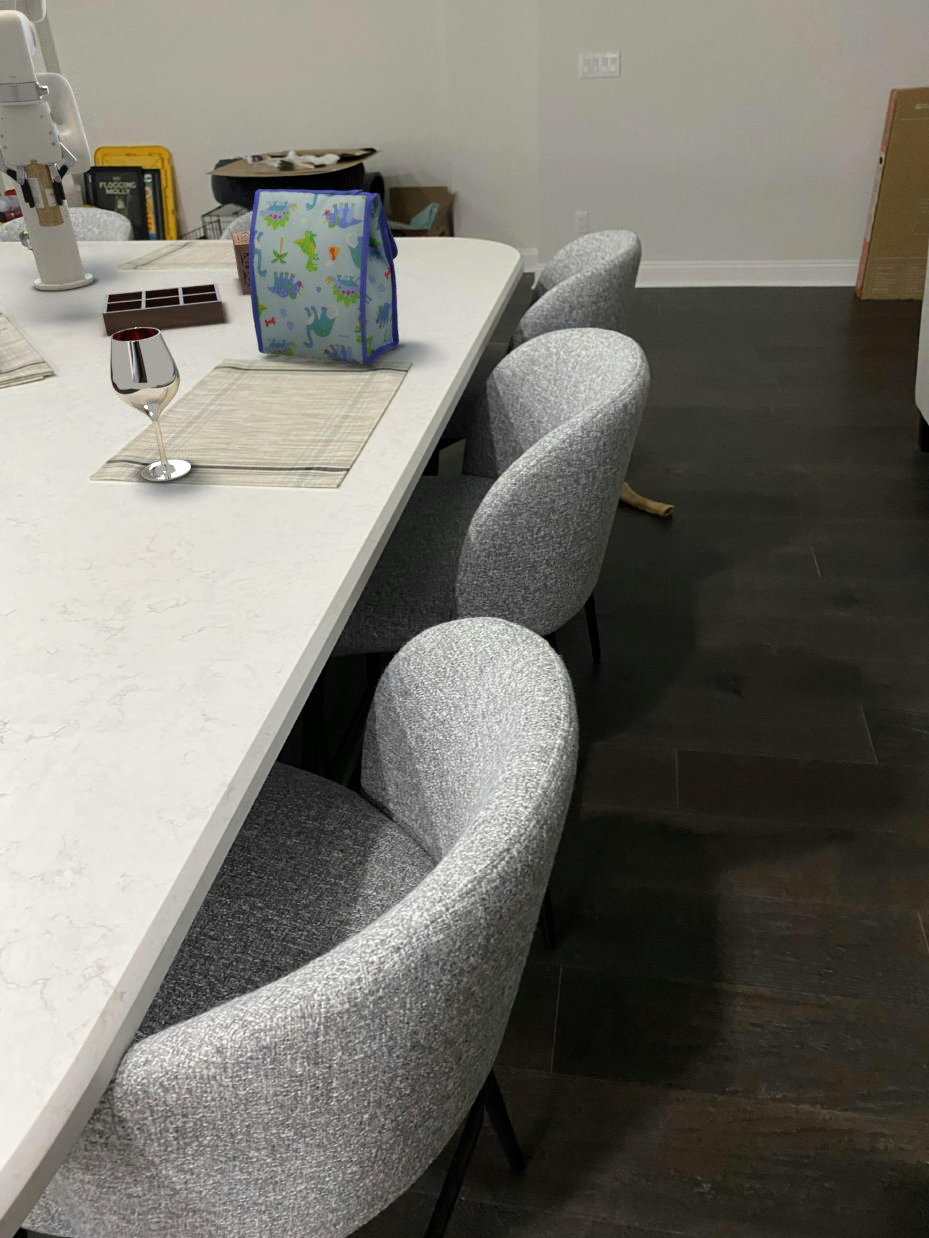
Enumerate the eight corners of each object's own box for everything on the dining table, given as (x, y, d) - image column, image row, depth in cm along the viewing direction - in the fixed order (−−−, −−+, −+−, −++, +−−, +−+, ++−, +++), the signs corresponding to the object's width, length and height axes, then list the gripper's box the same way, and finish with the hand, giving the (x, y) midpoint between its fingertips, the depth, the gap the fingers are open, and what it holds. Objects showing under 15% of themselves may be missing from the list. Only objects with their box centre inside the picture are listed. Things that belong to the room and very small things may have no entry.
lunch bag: (408, 340, 166) (398, 182, 151) (371, 370, 153) (355, 200, 138) (298, 333, 172) (278, 179, 158) (253, 361, 159) (226, 197, 145)
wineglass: (141, 460, 125) (109, 326, 115) (202, 456, 125) (175, 323, 116) (128, 486, 118) (92, 346, 108) (193, 482, 119) (163, 342, 109)
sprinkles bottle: (67, 225, 175) (46, 146, 168) (42, 228, 173) (20, 148, 166) (61, 221, 178) (41, 143, 171) (36, 224, 176) (15, 146, 169)
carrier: (110, 315, 187) (105, 294, 185) (220, 303, 192) (217, 283, 189) (107, 335, 175) (102, 313, 173) (225, 322, 180) (221, 301, 177)
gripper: (69, 90, 168) (95, 199, 179) (-30, 96, 165) (2, 206, 175) (65, 93, 162) (92, 205, 173) (-37, 99, 159) (-4, 213, 169)
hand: (46, 204), depth 174 cm, fingers closed on sprinkles bottle, 4 cm apart
